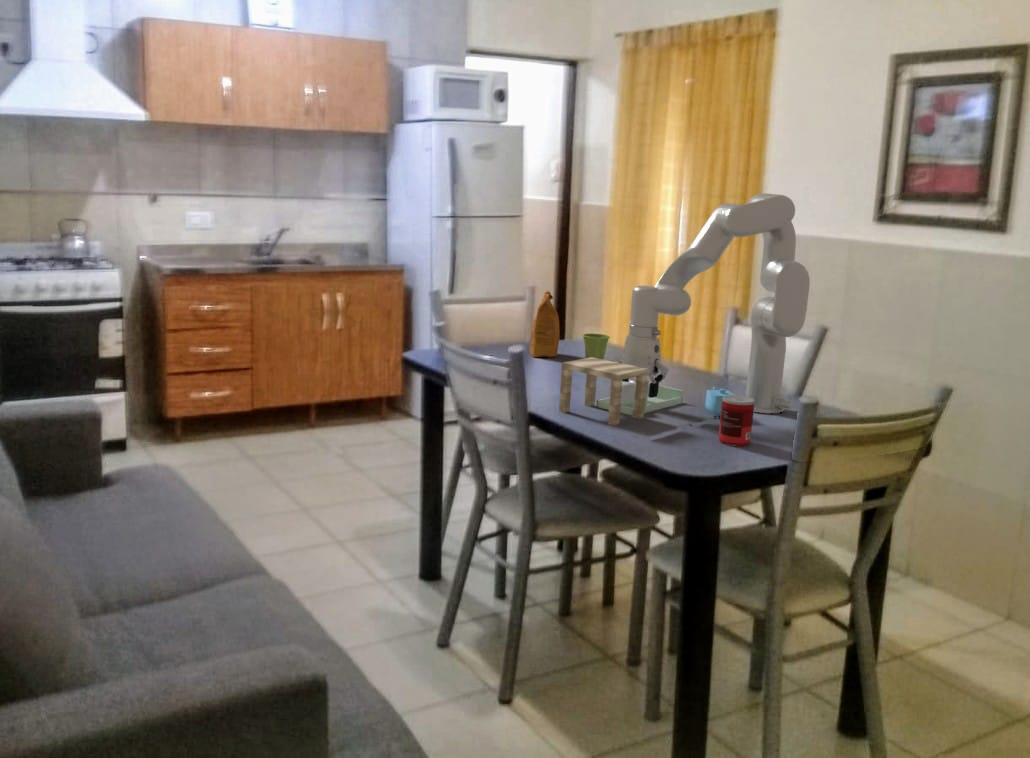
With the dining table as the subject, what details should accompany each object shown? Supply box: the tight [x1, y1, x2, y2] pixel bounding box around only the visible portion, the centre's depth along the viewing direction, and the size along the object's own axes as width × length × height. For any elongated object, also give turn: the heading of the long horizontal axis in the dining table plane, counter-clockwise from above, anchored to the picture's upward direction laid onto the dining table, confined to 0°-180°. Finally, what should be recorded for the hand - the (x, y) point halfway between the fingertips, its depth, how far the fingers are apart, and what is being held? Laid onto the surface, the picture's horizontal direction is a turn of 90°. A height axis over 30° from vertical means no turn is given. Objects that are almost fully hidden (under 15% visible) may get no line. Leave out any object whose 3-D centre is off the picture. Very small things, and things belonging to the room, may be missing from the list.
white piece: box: [629, 378, 650, 407], centre depth 268 cm, size 5×5×7 cm
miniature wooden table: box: [558, 357, 648, 427], centre depth 255 cm, size 18×13×14 cm
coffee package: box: [529, 290, 561, 358], centre depth 337 cm, size 10×12×22 cm
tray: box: [595, 382, 684, 417], centre depth 269 cm, size 12×24×4 cm, turn 139°
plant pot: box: [581, 332, 611, 360], centre depth 335 cm, size 9×9×9 cm
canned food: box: [718, 394, 755, 447], centre depth 238 cm, size 8×8×11 cm
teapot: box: [704, 386, 736, 418], centre depth 266 cm, size 12×6×8 cm, turn 10°
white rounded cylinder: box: [621, 382, 635, 408], centre depth 263 cm, size 5×5×7 cm
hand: (638, 393), depth 268 cm, fingers open, 9 cm apart
